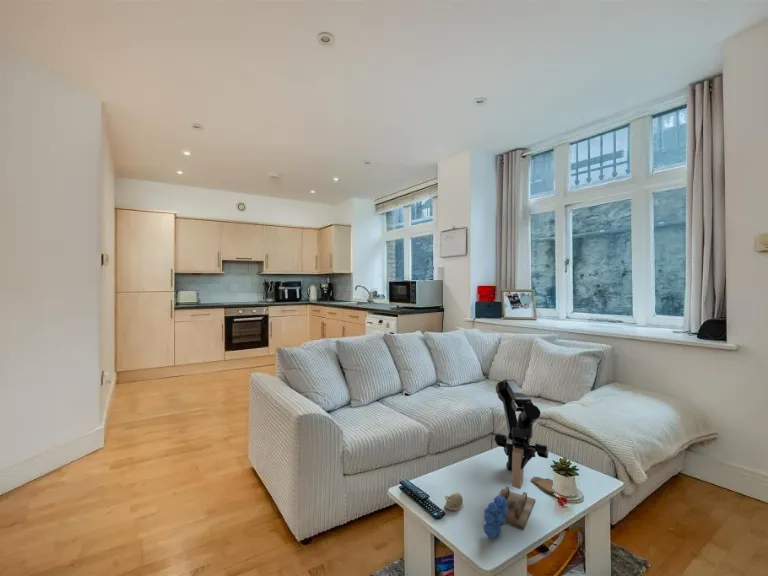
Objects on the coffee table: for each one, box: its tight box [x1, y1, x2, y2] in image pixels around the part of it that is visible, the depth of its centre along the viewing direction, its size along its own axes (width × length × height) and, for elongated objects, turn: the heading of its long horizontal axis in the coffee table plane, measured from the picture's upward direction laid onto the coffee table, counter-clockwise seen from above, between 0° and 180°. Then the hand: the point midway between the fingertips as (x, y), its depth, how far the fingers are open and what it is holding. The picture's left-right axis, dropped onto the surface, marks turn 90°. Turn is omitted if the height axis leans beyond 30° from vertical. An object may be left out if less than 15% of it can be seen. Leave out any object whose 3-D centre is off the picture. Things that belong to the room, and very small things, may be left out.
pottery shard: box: [530, 476, 555, 495], centre depth 143 cm, size 8×3×15 cm
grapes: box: [483, 495, 508, 540], centre depth 117 cm, size 12×7×12 cm, turn 131°
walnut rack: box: [497, 486, 536, 530], centre depth 130 cm, size 18×12×4 cm, turn 146°
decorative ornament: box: [443, 492, 464, 512], centre depth 130 cm, size 4×8×5 cm, turn 117°
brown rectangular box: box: [511, 448, 524, 490], centre depth 135 cm, size 3×4×13 cm
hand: (516, 467), depth 134 cm, fingers closed on brown rectangular box, 3 cm apart
